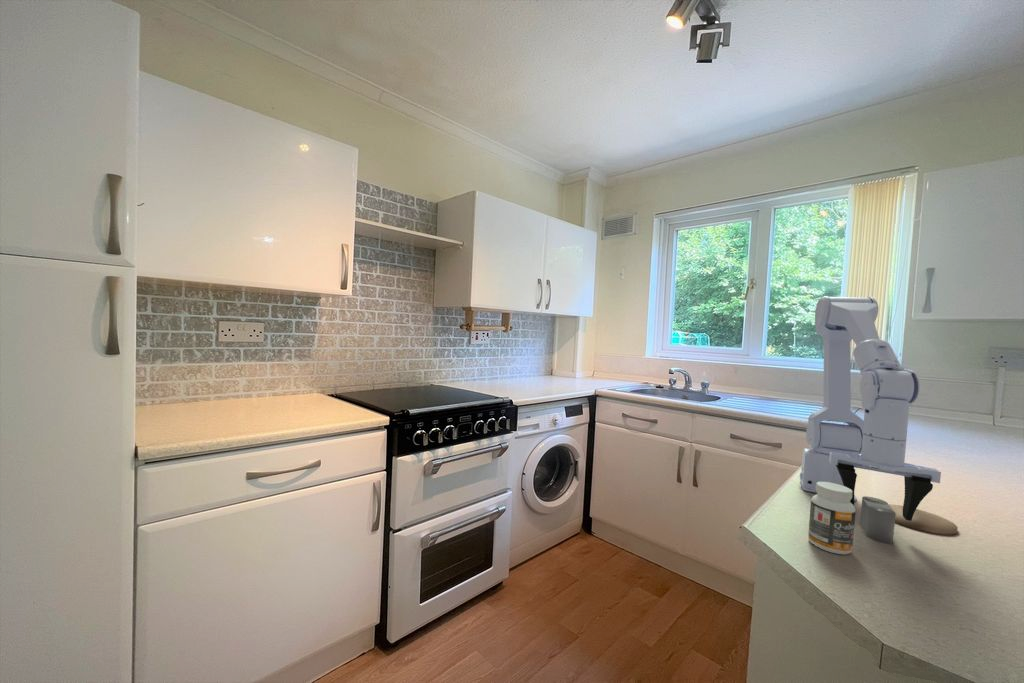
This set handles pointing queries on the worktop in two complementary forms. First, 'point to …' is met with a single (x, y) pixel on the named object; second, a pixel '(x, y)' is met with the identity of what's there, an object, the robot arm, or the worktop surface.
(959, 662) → the worktop surface
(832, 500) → the pill bottle
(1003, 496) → the worktop surface
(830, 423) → the robot arm
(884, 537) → the grey connector plug
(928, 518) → the walnut coaster
